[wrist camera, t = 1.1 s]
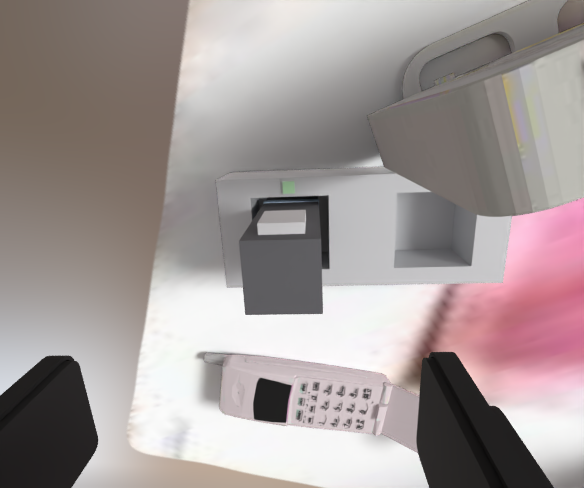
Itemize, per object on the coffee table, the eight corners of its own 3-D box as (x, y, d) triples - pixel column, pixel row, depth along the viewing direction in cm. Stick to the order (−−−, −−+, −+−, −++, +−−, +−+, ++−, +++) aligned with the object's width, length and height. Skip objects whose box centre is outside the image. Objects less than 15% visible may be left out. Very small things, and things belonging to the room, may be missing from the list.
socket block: (473, 259, 31) (504, 283, 26) (239, 264, 32) (226, 288, 27) (483, 162, 28) (520, 169, 23) (231, 172, 30) (214, 180, 25)
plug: (319, 244, 30) (323, 314, 19) (270, 245, 30) (244, 315, 19) (318, 188, 29) (321, 226, 17) (266, 190, 29) (236, 229, 17)
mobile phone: (476, 483, 31) (185, 442, 31) (450, 428, 36) (204, 394, 37) (497, 426, 29) (188, 383, 29) (466, 378, 35) (207, 342, 35)
